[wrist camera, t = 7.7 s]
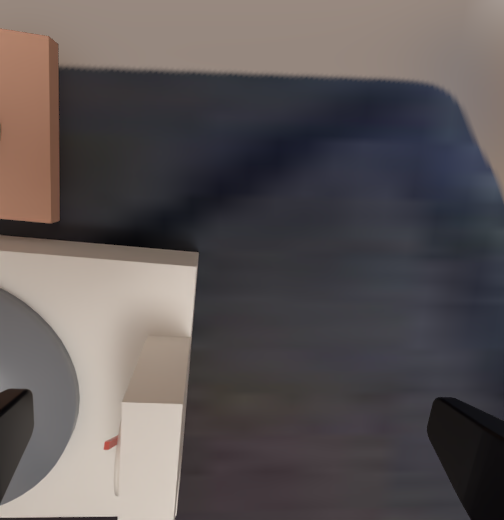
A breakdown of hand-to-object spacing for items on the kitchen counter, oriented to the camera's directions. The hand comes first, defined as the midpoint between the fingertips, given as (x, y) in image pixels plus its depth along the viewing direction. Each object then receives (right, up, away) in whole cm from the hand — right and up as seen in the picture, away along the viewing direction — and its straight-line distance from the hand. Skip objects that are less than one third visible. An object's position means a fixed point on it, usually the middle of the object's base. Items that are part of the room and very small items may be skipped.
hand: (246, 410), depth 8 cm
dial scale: (-12, -2, +11) cm, 17 cm away
